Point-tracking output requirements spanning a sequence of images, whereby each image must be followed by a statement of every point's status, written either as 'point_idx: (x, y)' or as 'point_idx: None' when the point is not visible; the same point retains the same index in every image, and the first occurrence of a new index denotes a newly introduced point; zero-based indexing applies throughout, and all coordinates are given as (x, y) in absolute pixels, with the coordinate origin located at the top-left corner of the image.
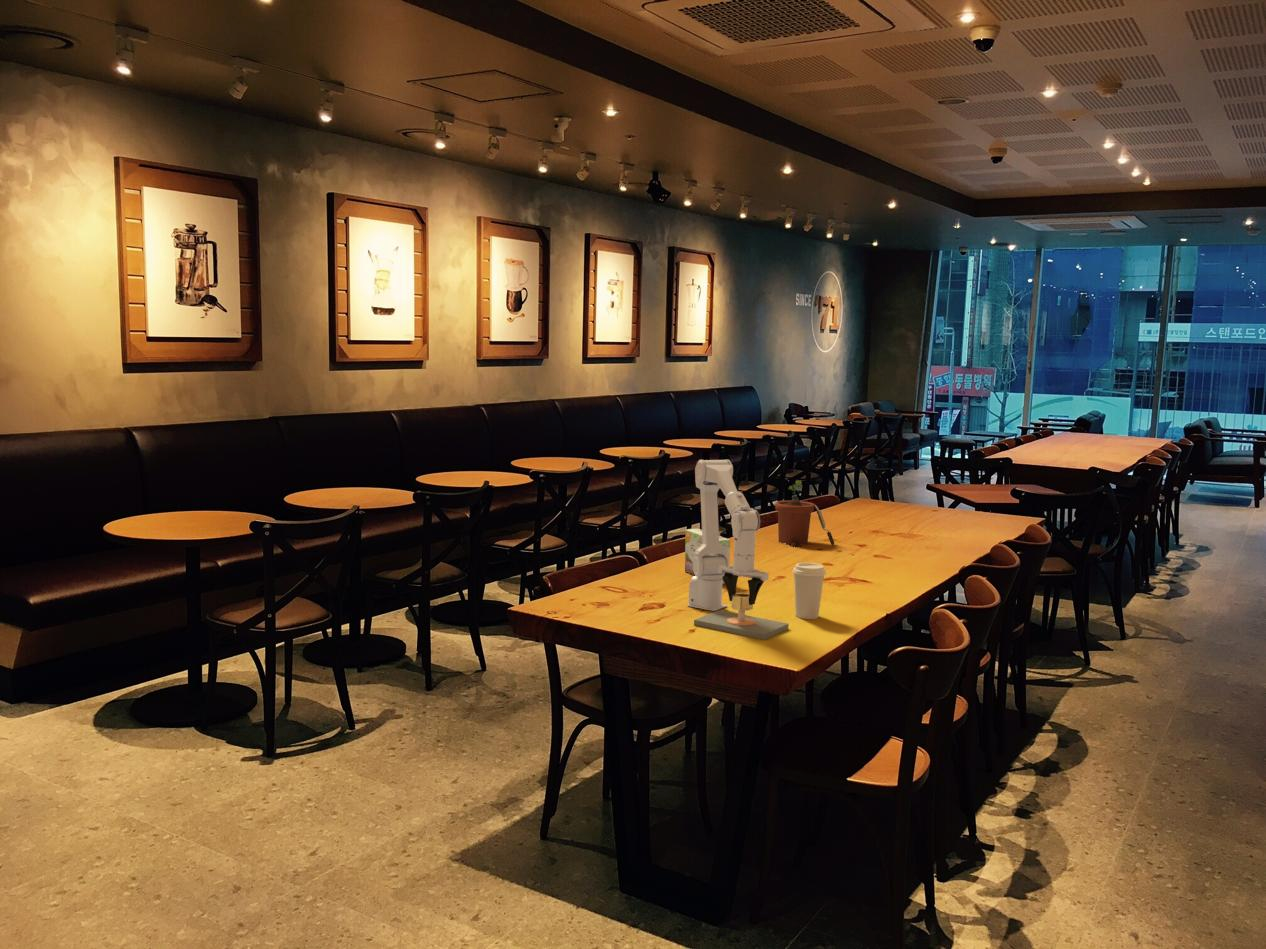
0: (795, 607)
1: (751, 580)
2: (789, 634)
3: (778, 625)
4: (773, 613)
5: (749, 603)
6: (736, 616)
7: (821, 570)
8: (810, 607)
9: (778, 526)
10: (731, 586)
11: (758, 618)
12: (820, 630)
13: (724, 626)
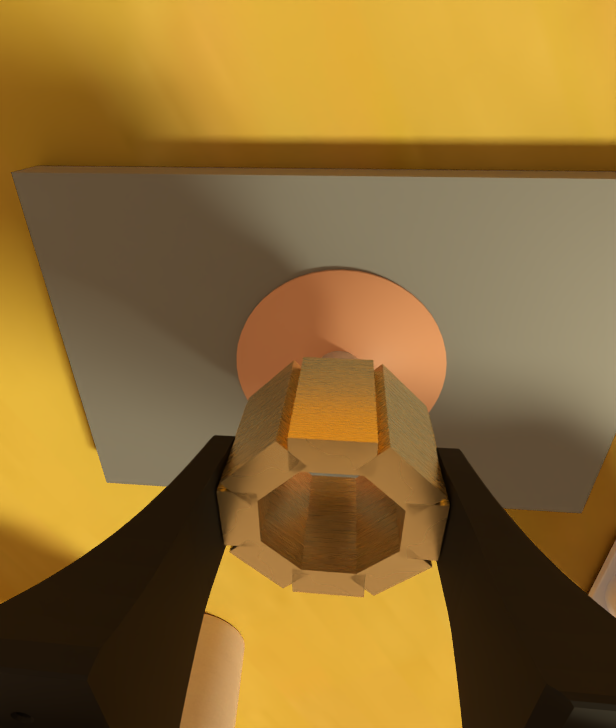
0: (227, 666)
1: (43, 698)
2: (43, 381)
3: (115, 424)
4: (329, 618)
5: (228, 442)
6: None
7: None
8: None
9: None
10: (479, 589)
11: None
12: (11, 513)
13: (388, 175)
